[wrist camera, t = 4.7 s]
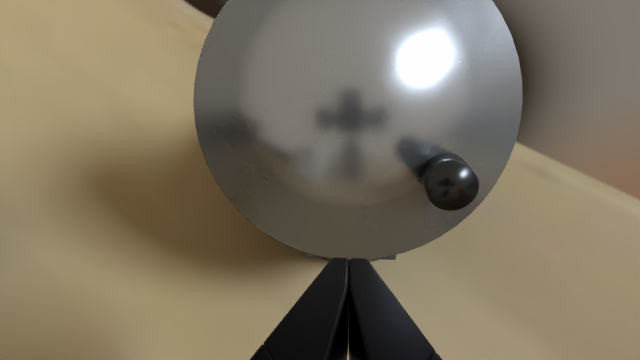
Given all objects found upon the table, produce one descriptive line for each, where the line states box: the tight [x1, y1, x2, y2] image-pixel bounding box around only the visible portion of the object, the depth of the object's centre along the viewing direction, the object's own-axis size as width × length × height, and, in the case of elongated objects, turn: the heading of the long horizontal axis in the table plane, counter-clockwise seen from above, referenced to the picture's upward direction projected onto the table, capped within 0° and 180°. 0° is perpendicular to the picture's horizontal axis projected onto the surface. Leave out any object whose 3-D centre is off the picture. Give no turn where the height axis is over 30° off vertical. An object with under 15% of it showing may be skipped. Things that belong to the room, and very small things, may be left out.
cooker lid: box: [194, 0, 522, 260], centre depth 14 cm, size 12×12×2 cm
